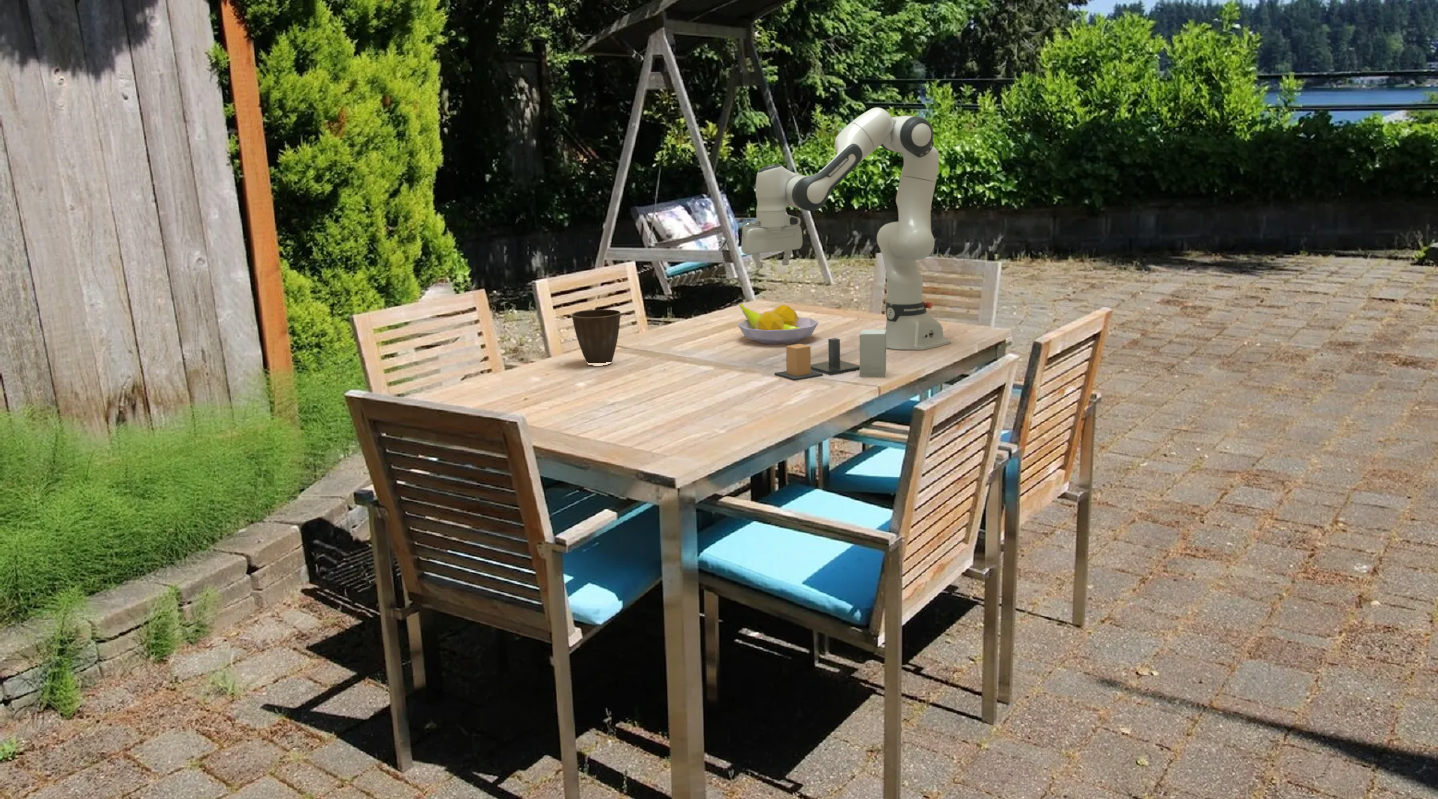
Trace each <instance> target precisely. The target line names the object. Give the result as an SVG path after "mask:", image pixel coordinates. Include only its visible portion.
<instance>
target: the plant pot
mask: <svg viewBox="0 0 1438 799" xmlns="http://www.w3.org/2000/svg"><path fill="white" fill-rule="evenodd" d="M571 317H572V323H573V327H574V332H575V334H576V338H577V341H578V345H579V347H580V350H581V353H582V355H583V357H584V360H585V362H586V363H587V362H588V363H606V362H613V359H614V357H615V356H614V355H615V352H616V348H617V344H618V337H619V334H620V333H619V331H620V323H621V322H620V321H621V311H619V310H617V309H589V310H588V309H587V310H581V311H577V312H573V313H572V314H571Z"/></svg>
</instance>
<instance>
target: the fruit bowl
mask: <svg viewBox="0 0 1438 799" xmlns="http://www.w3.org/2000/svg"><path fill="white" fill-rule="evenodd" d="M738 306H739V307H740V309H741V310H742V313H743V315H744V316H745V317H746V318H745V319H744V320H743V321H741V322H739V323H737V327H738V328H739V329H740V331H741V333H742V334H743V336H744V337H745V338H748V339H750V340H754V341H756V342H758V343H762V344H765V345H771V344H772V345H781V344H780V343H784V344H793V343H795V342H797V341H801V340H802V339H805V338H808V337H810V336H812V335H813V333H814V332H815V330H816V328H817V327H818V324H819V323H820V322H819V321H817V320H815V319H813V318H811V317H801V316H799V315H798V314H797V312H796V310H795V309H794V308H792V307H791V306H789V305H786V304H781V305H778V307H776V308H775V309H773V310H772V311H765V312H763V313H762V314H760V313H758V312H756V311H754V310H752V309H749V308H747V307H745V306H744V304H743V303H739V304H738Z"/></svg>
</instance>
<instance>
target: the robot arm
mask: <svg viewBox="0 0 1438 799" xmlns="http://www.w3.org/2000/svg"><path fill="white" fill-rule="evenodd" d="M934 143H935V142H934V129H933V126H932V124H931V123H930V121H928V120H927V119H926V118H923V117H920V116H913V115H900V116H891V114H890V113H889V112H888V111H887V110H885V109H884V108H882V107H873V108H870V109H869V110H867V111H865V112H863V113H862V114H860V115H858V117H856V118H854V119H853V120H852V121H850V122H849V123H848V124H847V125H846V126H845V127H844V128H842V130H840V132H839V133H838V135H836V137H835V141H834V149H835V152H836V155H835V156H834V157H833V158H832V160H830V161H829V162H828V163H827V164H826V165H825V166H824V167H823V168H822V169H821V170H820V171H819V172H817V173H815V174H811V175H802V174H799V173H795V172H793V171H790V170H789V169H787V168H785V167H784V166H783V165H782V164H769V165H765V166H762V167H761V168H759V169H758V171H757V174H756V180H755V197H756V202H757V204H756V209H755V210H756V212H755V213H756V214H755V215H756V221H754V222H747V223H745V224H744V225H743V226H742V228H741V231H742V232H741V233H742V234H741V245H740V246H741V249H740V250H741V252H742V254H744V255H751V256H752V259H753V261H754V262H755V268H756V269H758V270H759V269H763V268H764V262H763V261H762V262H761V260H760V257H761V254H764V253H765V254H766V253H774V252H775V253H776V252H784V258H783V259H781V265H782V266H789V265H790V258H791V257H792V255H793V250H800V249H801V248H802V247H803V232H802V231H803V230H802V228H801V226H800V225H801V218H800V217H799V216H795V215H792V214H791V215H790V214H788V213H787V207H793V208H794V209H795V208H796V209H802V210H803V211H807V212H814V211H817V210H820V209H821V208H822V207H823V206H824V205H825V204H826V203H827V201H828V199H829V196H830V195H831V193H832V192H833V191H834V189H835V188H836V187H837V185H839V184H840V183H841V182H842V181H843V180H844V179H845V178H846V177H847V176H849V174H850V173H851V172H852V171H853V170H854V169H855V168H856V167H857V166H858V165H859V164H860V163H861V162H862V161H864V160H865V159H866V158H867V157H868V156H869V155H871V154H872V153H873V152H874V151H876V150H877V149H878V148H879V147H881V148H882V149H883V150H886V151H888V152H895V153H899V154H901V155H902V157H903V167H902V170H901V174H900V178H899V181H898V182H899V183H898V188H897V192H896V197H895V203H896V206H897V212H898V221H892V222H889V223H885V224H884V225H882V227H880V228H879V230H878V231H877V235H876V243H877V246H878V247H879V249H880V251H881V254H882V259H883V263H884V264H883V265H884V268H885V275H886V292H887V293H886V295H887V296H886V302H885V316H886V320H885V321H886V323H885V329H884V330H886V349H892V350H917V351H918V350H919V351H922V350H923V351H924V350H929V349H932V348H937V347H940V346H944V345H948V344H951V339H949V338H947V337H945V336H944V330H943V329H944V328H943V326H942V323H941V322H939V321H938V320H937V319H936V318H934V317H933V316H931V315H930V314H929V313H928V311H927V309H930V310H931V309H932V308H933V306H934V305H933V303H932V302H928V301H926V302H925V301H923V275H922V273H921V272H920V269H919V266H918V263H917V261H919V260H924V259H926V258H928V257H929V256H930V255H931V254H932V253H933V251H934V248H935V238H934V235H933V233H932V224H931V222H932V220H931V218H932V217H931V211H932V202H933V199H934V198H933V197H934V193H935V187H936V183H937V180H938V171H939V164H940V163H939V162H940V159H939V158H940V153H939V151H938V149H937V148H936V147H935V146H934Z"/></svg>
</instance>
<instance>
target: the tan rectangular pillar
mask: <svg viewBox="0 0 1438 799" xmlns="http://www.w3.org/2000/svg"><path fill="white" fill-rule="evenodd" d="M785 350H786V352H785V354H786V355H785V357H786V358H785V359H786V371H787V373H788V374H792V375H795V376H799V375H805V374H811V371H812V370H811V364H812V362H811V359H812V358H811V345H806V344H802V343H796V344H791V345H786V346H785Z"/></svg>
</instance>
